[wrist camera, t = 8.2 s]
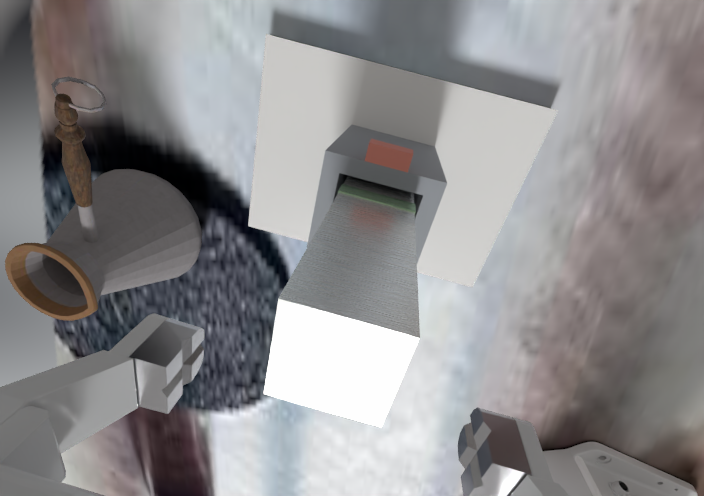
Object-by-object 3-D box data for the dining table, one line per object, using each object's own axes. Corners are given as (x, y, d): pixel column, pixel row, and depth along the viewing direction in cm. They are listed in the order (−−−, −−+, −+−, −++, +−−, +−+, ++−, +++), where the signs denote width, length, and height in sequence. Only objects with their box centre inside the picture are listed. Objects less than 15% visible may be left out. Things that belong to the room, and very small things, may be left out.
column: (414, 176, 24) (422, 337, 9) (396, 229, 25) (382, 428, 11) (355, 160, 24) (277, 296, 10) (342, 215, 26) (262, 394, 11)
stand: (550, 108, 26) (638, 133, 16) (470, 278, 34) (496, 367, 24) (272, 35, 27) (191, 15, 17) (254, 220, 35) (190, 282, 24)
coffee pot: (191, 283, 39) (81, 391, 26) (96, 226, 38) (-71, 310, 24) (278, 121, 30) (175, 162, 17) (157, 34, 28) (-65, 3, 15)
